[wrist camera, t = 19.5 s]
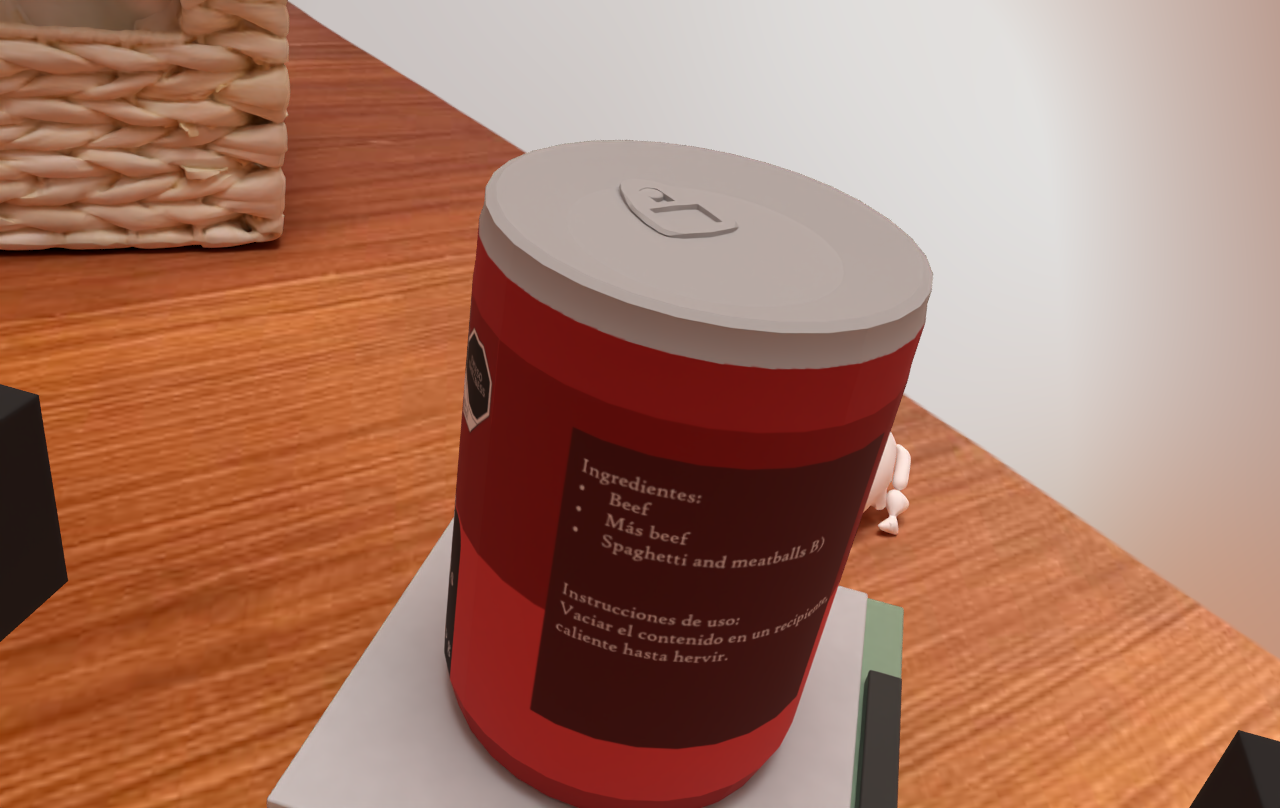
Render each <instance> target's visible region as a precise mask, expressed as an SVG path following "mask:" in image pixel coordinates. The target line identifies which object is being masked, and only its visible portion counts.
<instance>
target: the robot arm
mask: <svg viewBox="0 0 1280 808" xmlns="http://www.w3.org/2000/svg"><path fill="white" fill-rule="evenodd" d="M67 581H68V578H67V572H66V565H65V559H64V553H63V546H62V540H61V534H60V527H59V521H58V515H57V508H56V502H55V496H54V489H53V483H52V477H51V471H50V464H49V458H48V452H47V445H46V439H45V433H44V426H43V420H42V414H41V407H40V401H39V395H37V394H33V393H30V392H26V391H22V390H19V389H15V388H12V387H8V386H4V385H1V384H0V642H1V641H2V640H3V639H4V638H5V637H6V636H7V635H8V634H10V633H11V632H12V631H13V630H14V629H15V628H16V627H17V626H18V625H20V624H21V623H22V622H23V621H24V620H25V619H26V618H27V617H28V616H30V615H31V614H32V613H33V612H34V611H35V610H36V609H37V608H38V607H40V606H41V605H42V604H43V603H44V602H45V601H46V600H47V599H48V598H50V597H51V596H52V595H53V594H54V593H55V592H56V591H57V590H58V589H60V588H61V587H62V586H63V585H64V584H65V583H66V582H67ZM1190 808H1280V742H1279V741H1276V740H1272V739H1268V738H1265V737H1261V736H1258V735H1254V734H1251V733H1247V732H1243V731H1240V730H1238V732H1237V733H1236V735H1235V737H1234V738H1233V740H1232V741H1231V743H1230V744H1229V746H1228V748H1227V749H1226V751H1225V752H1224V754H1223V755H1222V757H1221V759H1220V760H1219V762H1218V763H1217V765H1216V767H1215V768H1214V770H1213V771H1212V773H1211V774H1210V776H1209V778H1208V779H1207V781H1206V782H1205V784H1204V786H1203V787H1202V789H1201V790H1200V792H1199V793H1198V795H1197V797H1196V798H1195V800H1194V801H1193V803H1192V804H1191V806H1190Z"/></svg>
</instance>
